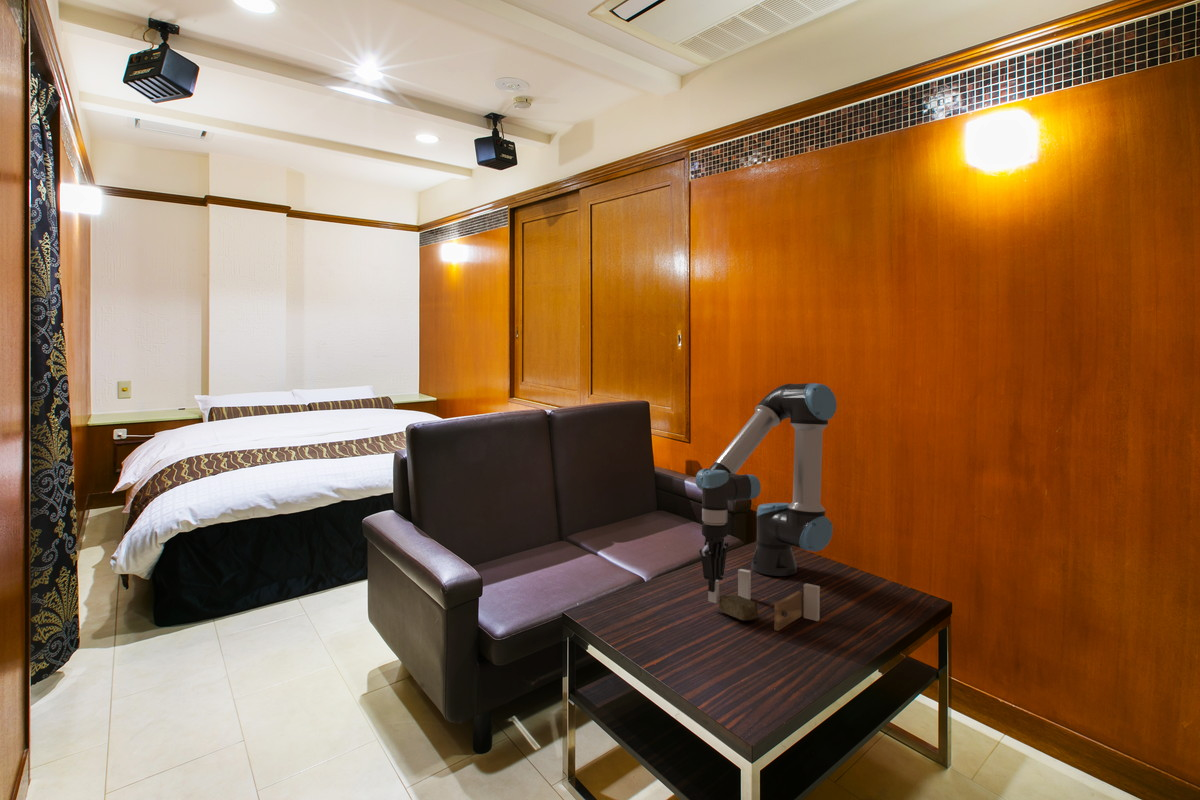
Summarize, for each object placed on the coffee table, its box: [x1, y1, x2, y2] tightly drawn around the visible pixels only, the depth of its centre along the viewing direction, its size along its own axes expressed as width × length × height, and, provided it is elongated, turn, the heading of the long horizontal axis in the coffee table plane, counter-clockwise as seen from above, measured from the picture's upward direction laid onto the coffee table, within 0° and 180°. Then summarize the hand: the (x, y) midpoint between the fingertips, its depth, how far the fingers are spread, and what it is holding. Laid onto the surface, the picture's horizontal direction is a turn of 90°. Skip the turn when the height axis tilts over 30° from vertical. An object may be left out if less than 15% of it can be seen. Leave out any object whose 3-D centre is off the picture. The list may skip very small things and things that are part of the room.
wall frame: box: [737, 568, 821, 622], centre depth 175 cm, size 2×25×10 cm, turn 49°
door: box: [773, 589, 804, 631], centre depth 165 cm, size 3×16×7 cm, turn 137°
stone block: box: [718, 593, 759, 622], centre depth 169 cm, size 6×12×5 cm, turn 28°
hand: (713, 601), depth 174 cm, fingers closed
